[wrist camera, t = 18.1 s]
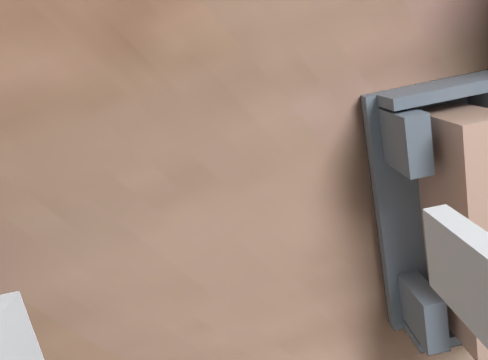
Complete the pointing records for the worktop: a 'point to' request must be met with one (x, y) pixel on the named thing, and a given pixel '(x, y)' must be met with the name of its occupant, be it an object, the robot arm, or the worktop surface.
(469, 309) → the robot arm
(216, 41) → the worktop surface
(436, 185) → the tan rectangular block
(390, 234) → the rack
